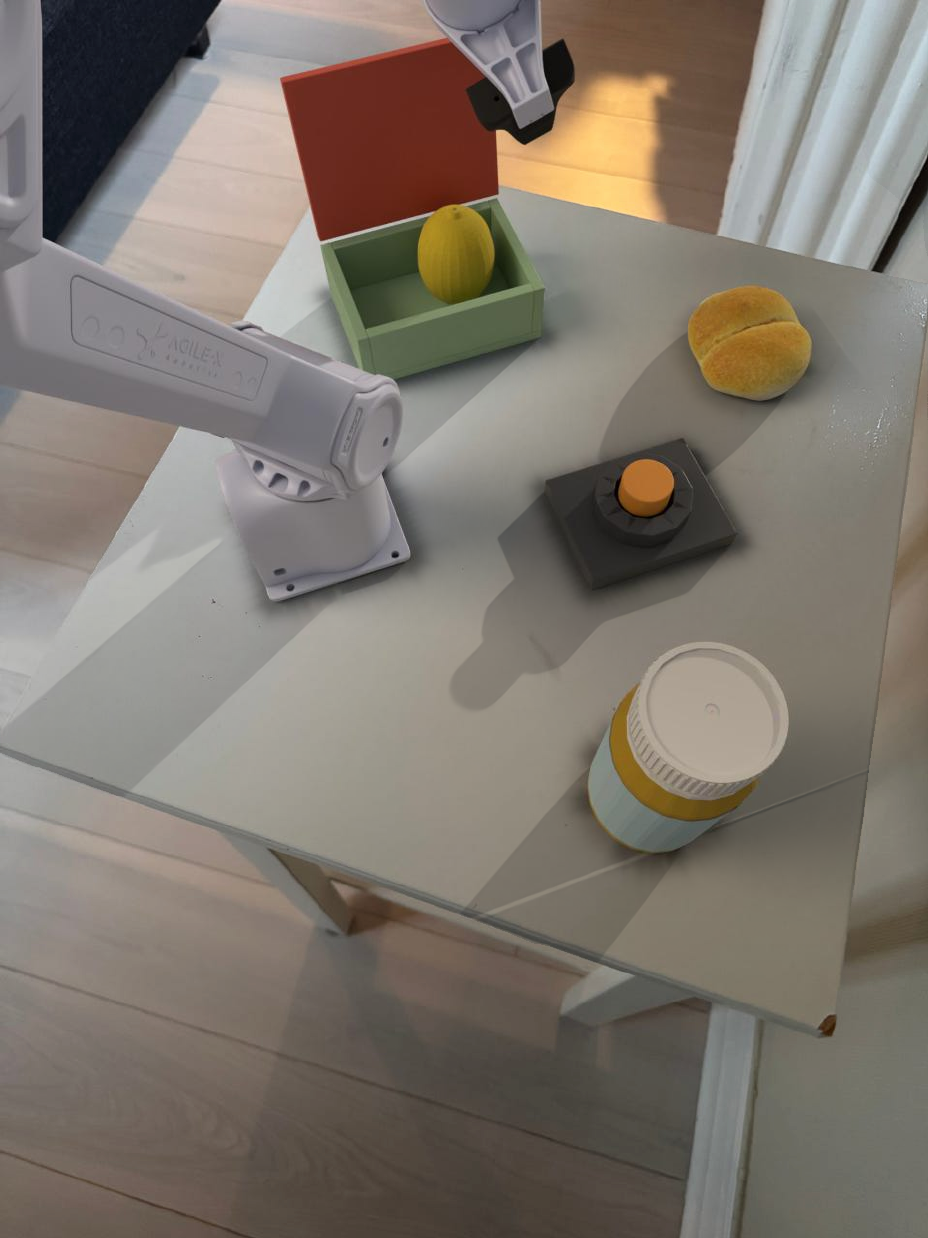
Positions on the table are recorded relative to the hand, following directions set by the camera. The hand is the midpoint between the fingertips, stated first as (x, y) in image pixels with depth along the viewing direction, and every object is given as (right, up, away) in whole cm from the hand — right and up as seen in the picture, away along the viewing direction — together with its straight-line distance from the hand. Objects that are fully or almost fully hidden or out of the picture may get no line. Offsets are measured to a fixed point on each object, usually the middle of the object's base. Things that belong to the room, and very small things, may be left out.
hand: (512, 75), depth 51 cm
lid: (-7, -1, +5) cm, 9 cm away
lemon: (-4, -7, +9) cm, 12 cm away
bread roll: (+17, -14, +10) cm, 25 cm away
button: (+8, -25, +2) cm, 27 cm away
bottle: (+7, -43, -3) cm, 44 cm away
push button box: (+8, -26, +4) cm, 28 cm away
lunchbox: (-5, -10, +12) cm, 17 cm away
